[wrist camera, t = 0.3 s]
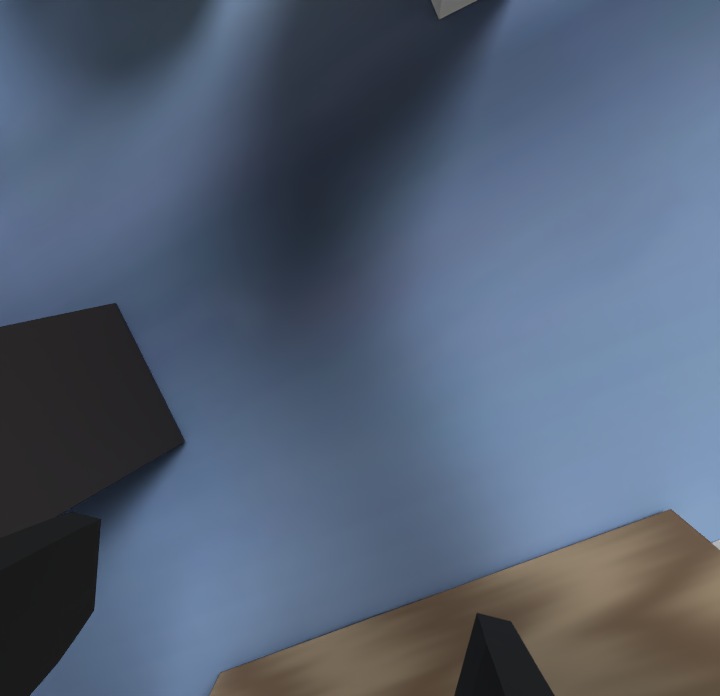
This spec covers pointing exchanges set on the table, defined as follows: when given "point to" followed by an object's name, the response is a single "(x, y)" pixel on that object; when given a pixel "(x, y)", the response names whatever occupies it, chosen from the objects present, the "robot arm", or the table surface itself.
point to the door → (534, 626)
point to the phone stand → (73, 413)
